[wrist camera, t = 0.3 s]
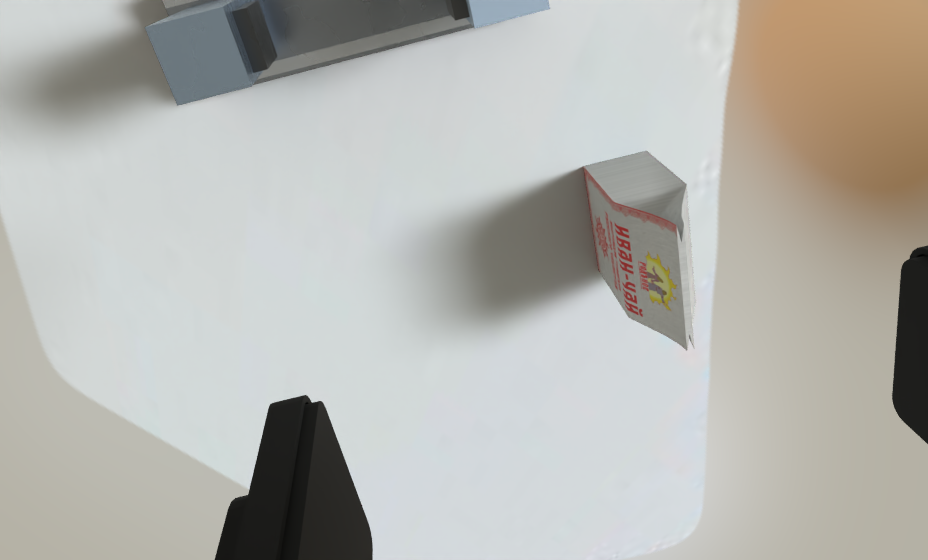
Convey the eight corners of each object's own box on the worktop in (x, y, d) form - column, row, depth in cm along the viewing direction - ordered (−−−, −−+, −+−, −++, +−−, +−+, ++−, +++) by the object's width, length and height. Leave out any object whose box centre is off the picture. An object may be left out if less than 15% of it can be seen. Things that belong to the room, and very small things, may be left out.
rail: (169, -14, 34) (106, 6, 26) (514, -104, 34) (557, -113, 26) (210, 89, 37) (163, 136, 29) (533, 5, 36) (578, 28, 28)
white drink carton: (646, 150, 41) (722, 214, 32) (657, 255, 44) (729, 340, 35) (583, 166, 41) (641, 234, 32) (598, 270, 44) (655, 358, 35)
